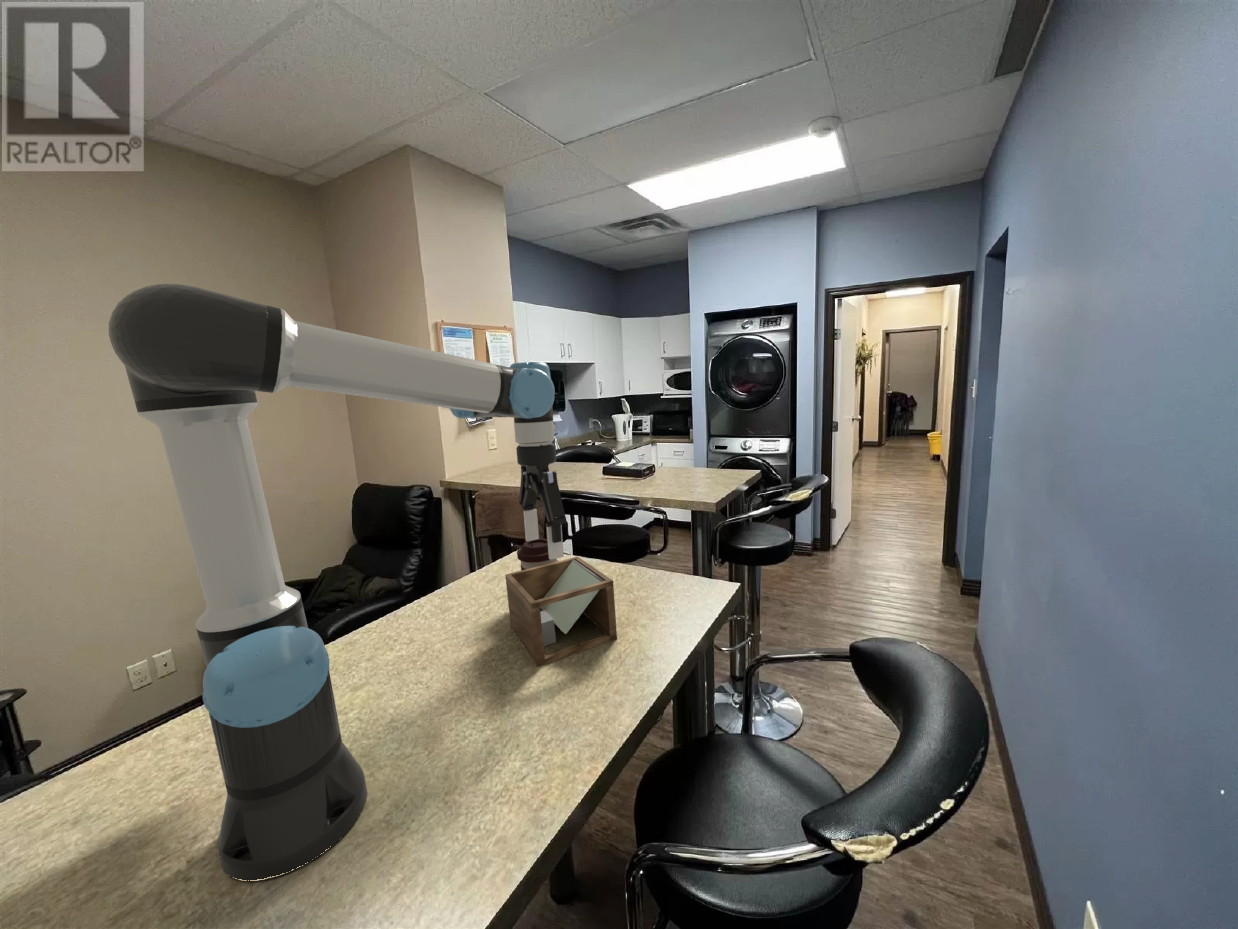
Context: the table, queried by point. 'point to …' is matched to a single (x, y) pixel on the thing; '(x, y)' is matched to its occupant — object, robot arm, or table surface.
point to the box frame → (529, 597)
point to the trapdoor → (572, 607)
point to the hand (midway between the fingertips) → (543, 548)
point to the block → (547, 628)
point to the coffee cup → (534, 554)
